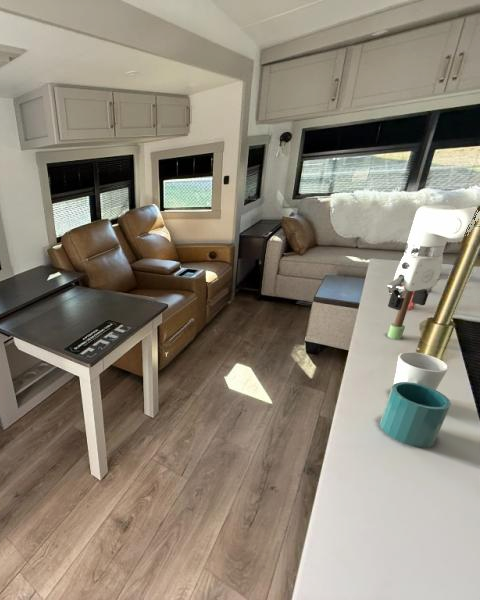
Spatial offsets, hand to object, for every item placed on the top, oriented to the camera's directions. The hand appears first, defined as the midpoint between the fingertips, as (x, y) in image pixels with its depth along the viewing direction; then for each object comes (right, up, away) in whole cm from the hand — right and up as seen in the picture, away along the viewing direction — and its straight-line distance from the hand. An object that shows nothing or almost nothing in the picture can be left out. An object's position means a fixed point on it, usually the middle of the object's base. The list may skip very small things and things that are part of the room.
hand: (406, 305), depth 96 cm
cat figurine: (+23, -1, +22) cm, 32 cm away
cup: (-19, -24, -19) cm, 36 cm away
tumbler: (-29, -28, -27) cm, 48 cm away
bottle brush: (+1, -11, +5) cm, 12 cm away
